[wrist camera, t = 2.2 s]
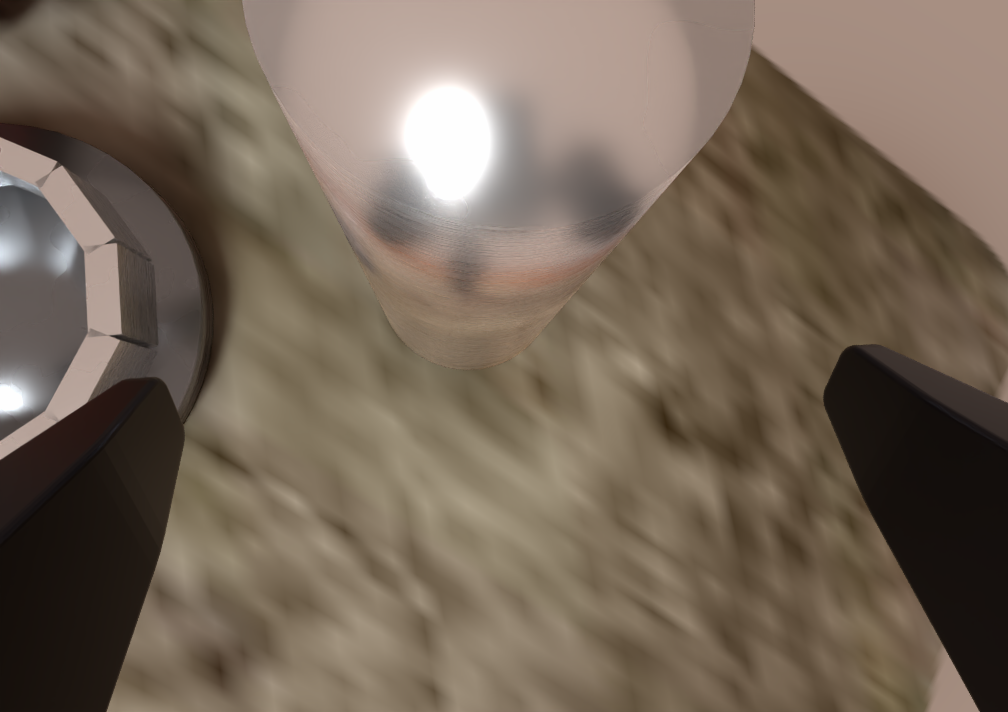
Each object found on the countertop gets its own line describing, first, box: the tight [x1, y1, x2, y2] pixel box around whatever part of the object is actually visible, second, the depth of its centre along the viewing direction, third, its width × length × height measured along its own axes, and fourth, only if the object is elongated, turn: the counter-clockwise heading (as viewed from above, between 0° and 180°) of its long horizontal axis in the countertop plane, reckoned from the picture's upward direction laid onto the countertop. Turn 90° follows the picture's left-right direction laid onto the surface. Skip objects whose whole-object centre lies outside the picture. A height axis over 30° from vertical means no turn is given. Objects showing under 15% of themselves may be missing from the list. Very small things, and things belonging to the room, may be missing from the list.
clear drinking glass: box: [242, 0, 755, 370], centre depth 13 cm, size 6×6×13 cm
